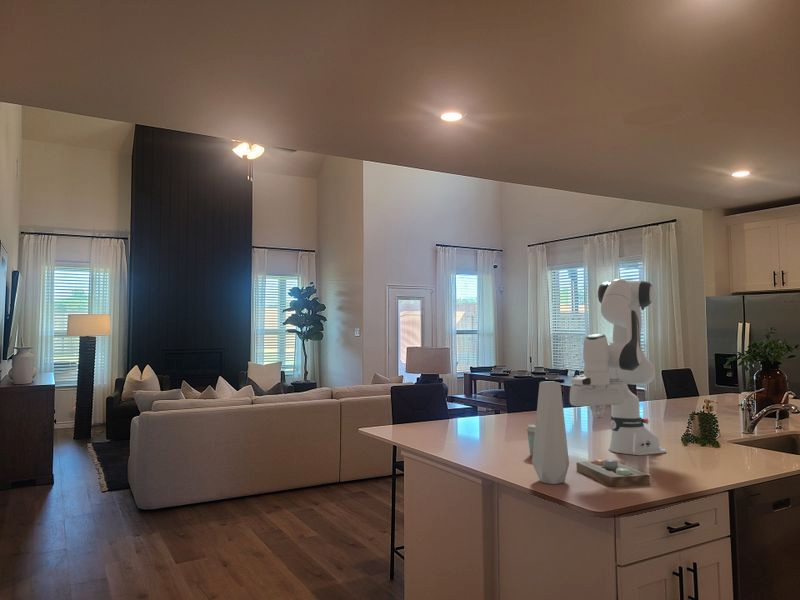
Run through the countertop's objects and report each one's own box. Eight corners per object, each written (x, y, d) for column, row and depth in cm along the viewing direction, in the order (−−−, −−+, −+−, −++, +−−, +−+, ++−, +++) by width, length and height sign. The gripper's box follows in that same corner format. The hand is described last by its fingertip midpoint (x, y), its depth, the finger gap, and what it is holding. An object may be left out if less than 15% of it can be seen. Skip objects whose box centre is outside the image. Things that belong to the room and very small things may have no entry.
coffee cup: (549, 458, 219) (548, 427, 220) (527, 457, 221) (526, 427, 221) (548, 453, 227) (547, 424, 228) (526, 453, 229) (526, 423, 230)
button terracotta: (602, 467, 199) (602, 458, 199) (609, 470, 195) (609, 461, 195) (591, 467, 198) (591, 459, 199) (598, 470, 194) (597, 462, 194)
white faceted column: (578, 485, 180) (575, 383, 182) (545, 487, 177) (543, 384, 180) (560, 475, 192) (557, 380, 194) (529, 477, 189) (527, 381, 191)
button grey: (613, 467, 192) (613, 459, 193) (620, 470, 188) (620, 461, 188) (601, 468, 192) (601, 459, 192) (609, 471, 187) (608, 462, 187)
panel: (611, 468, 202) (611, 460, 202) (649, 484, 180) (649, 474, 180) (576, 470, 199) (576, 461, 199) (610, 486, 178) (610, 477, 178)
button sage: (625, 476, 185) (625, 467, 186) (633, 480, 181) (632, 470, 181) (613, 477, 185) (613, 468, 185) (621, 480, 180) (620, 471, 180)
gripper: (617, 377, 204) (619, 415, 203) (566, 379, 200) (568, 417, 200) (627, 379, 198) (629, 417, 197) (575, 380, 194) (576, 420, 193)
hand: (598, 417), depth 198 cm, fingers closed
